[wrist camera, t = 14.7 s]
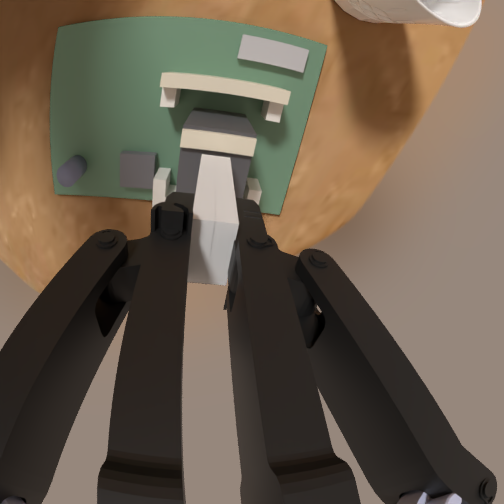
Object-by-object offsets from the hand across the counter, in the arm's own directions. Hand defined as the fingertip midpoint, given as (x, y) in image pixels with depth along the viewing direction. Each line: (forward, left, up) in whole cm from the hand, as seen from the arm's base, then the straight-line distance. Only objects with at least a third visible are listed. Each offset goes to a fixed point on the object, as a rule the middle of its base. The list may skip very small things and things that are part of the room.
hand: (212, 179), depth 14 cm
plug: (0, 0, -8) cm, 8 cm away
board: (-4, +2, -8) cm, 10 cm away
